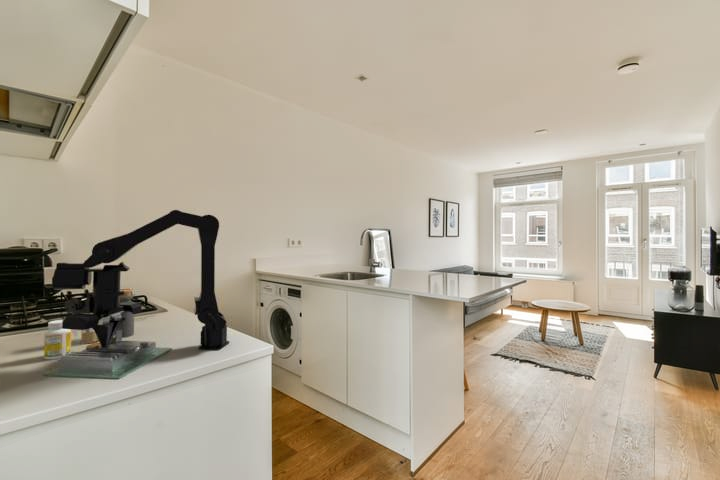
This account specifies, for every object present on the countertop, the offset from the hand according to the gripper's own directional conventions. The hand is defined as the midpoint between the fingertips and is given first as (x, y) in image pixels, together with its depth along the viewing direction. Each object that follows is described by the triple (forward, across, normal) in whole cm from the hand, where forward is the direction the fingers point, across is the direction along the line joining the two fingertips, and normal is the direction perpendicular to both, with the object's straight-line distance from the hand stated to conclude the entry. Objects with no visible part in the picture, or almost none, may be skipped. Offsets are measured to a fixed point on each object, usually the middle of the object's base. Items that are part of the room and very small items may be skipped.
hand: (104, 346), depth 86 cm
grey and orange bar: (+1, 0, +3) cm, 3 cm away
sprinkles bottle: (+4, -14, -17) cm, 23 cm away
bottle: (+4, -21, -12) cm, 25 cm away
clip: (+1, -4, -3) cm, 5 cm away
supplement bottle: (+4, -2, -15) cm, 16 cm away
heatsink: (+4, 0, +3) cm, 5 cm away
